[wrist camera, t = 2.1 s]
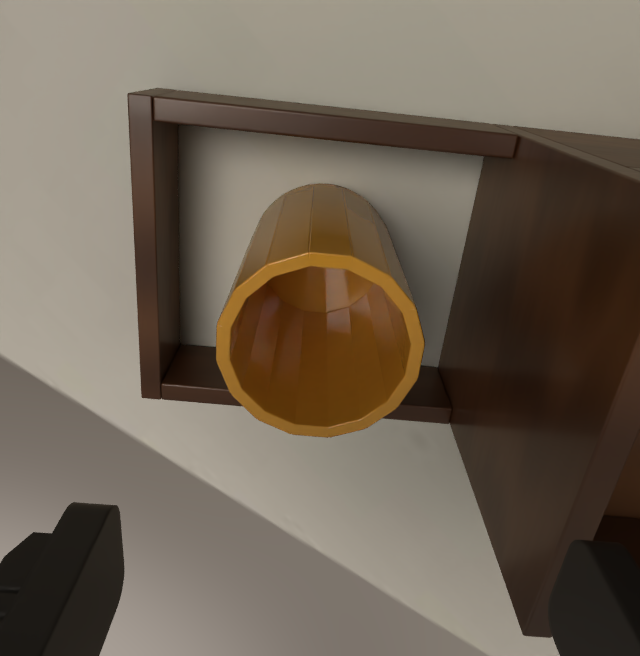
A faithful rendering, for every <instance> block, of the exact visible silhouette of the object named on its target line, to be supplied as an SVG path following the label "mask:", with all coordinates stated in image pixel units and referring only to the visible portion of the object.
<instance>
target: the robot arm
mask: <svg viewBox="0 0 640 656" xmlns="http://www.w3.org/2000/svg"><path fill="white" fill-rule="evenodd" d="M123 580H124V557H123V545H122V533H121V520H120V511H119V508H118V506H117V505H103V504H88V503H75V502H73V503H71V504H70V505H69V506H68V507H67V509H66V510H65V512H64V513H63V515H62V517H61V519H60V520H59V522H58V524H57V526H56V527H55V529H54V531H53V533H52V534H51V533H35V532H33V533H32V534H31V535H30V536H28V537H27V538H26V539H25V540H24V541H22V542H21V543H20V544H19V545H18V546H17V547H15V548H14V549H13V550H12V551H10V552H9V553H8V554H7V555H6V556H5V557H4V558H3V560H2V561H1V563H0V656H99V654H100V652H101V649H102V646H103V644H104V641H105V639H106V636H107V633H108V631H109V628H110V625H111V622H112V620H113V617H114V614H115V612H116V609H117V606H118V603H119V600H120V596H121V592H122V586H123ZM548 619H549V626H550V630H551V634H552V636H553V639H554V642H555V644H556V647H557V649H558V652H559V654H560V656H640V568H639V567H638V565H637V564H636V562H635V560H634V559H633V557H632V556H631V554H630V552H629V551H628V550H627V548H626V547H625V546H624V545H622V544H621V543H618V542H604V541H590V540H574V541H573V542H572V543H571V544H570V546H569V548H568V550H567V553H566V556H565V558H564V561H563V563H562V566H561V569H560V571H559V574H558V576H557V579H556V582H555V584H554V587H553V589H552V592H551V595H550V598H549V602H548Z"/></svg>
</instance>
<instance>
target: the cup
mask: <svg viewBox="0 0 640 656" xmlns="http://www.w3.org/2000/svg"><path fill="white" fill-rule="evenodd" d="M424 347H425V340H424V336H423V332H422V328H421V324H420V320H419V316H418V312H417V308H416V305H415V303H414V300H413V297H412V295H411V292H410V289H409V287H408V284H407V281H406V279H405V276H404V273H403V271H402V268H401V265H400V262H399V260H398V257H397V254H396V252H395V249H394V246H393V244H392V241H391V238H390V236H389V233H388V230H387V228H386V225H385V223H384V222H383V221H382V219H381V217H380V216H379V214H378V213H377V211H376V210H375V209H374V208H373V206H372V205H371V204H370V203H369V202H368V201H366V200H365V199H364V198H363V197H361V196H360V195H358V194H357V193H355V192H353V191H351V190H349V189H347V188H343V187H340V186H337V185H331V184H311V185H306V186H302V187H298V188H296V189H293V190H291V191H289V192H287V193H285V194H283V195H282V196H281V197H279V198H278V199H277V200H275V201H274V202H273V203H272V204H271V205H270V206H269V207H268V209H267V210H266V211H265V212H264V213H263V215H262V217H261V219H260V221H259V223H258V225H257V227H256V229H255V231H254V234H253V236H252V238H251V240H250V243H249V245H248V248H247V250H246V253H245V255H244V258H243V260H242V263H241V265H240V268H239V270H238V273H237V275H236V278H235V280H234V283H233V285H232V288H231V290H230V293H229V295H228V298H227V300H226V302H225V305H224V307H223V310H222V312H221V315H220V317H219V320H218V322H217V332H216V361H217V364H218V366H219V369H220V371H221V373H222V376H223V378H224V380H225V382H226V385H227V387H228V389H229V392H230V393H231V395H232V396H233V397H234V398H235V399H236V400H237V401H238V402H239V403H240V404H241V405H242V406H244V407H245V408H246V409H247V410H248V411H249V412H250V413H251V414H252V415H253V416H254V417H255V418H256V419H258V420H259V421H262V422H264V423H266V424H269V425H271V426H273V427H275V428H278V429H280V430H282V431H285V432H287V433H289V434H293V435H304V436H315V437H327V438H328V437H334V436H338V435H342V434H346V433H350V432H354V431H359V430H363V429H365V428H368V427H369V426H371V425H372V424H374V423H375V422H377V421H378V420H380V419H381V418H383V417H385V416H386V415H388V414H389V413H391V412H392V411H394V410H395V409H396V408H397V407H398V406H399V405H400V403H401V402H402V400H403V399H404V398H405V396H406V395H407V393H408V392H409V391H410V389H411V388H412V386H413V385H414V384H415V382H416V381H417V378H418V376H419V371H420V366H421V362H422V357H423V352H424Z"/></svg>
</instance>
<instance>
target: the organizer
mask: <svg viewBox="0 0 640 656" xmlns="http://www.w3.org/2000/svg"><path fill="white" fill-rule="evenodd" d="M128 116H129V138H130V159H131V180H132V202H133V223H134V244H135V266H136V287H137V308H138V330H139V351H140V372H141V394H142V398H149V399H161V398H162V399H164V400H176V401H188V402H199V403H211V404H222V405H234V406H242V405H241V404H240V403H239V402H238V401H237V400H236V399H235V398H234V397H233V396H232V395H231V393H230V392H229V389H228V387H227V385H226V382H225V380H224V378H223V376H222V373H221V371H220V369H219V366H218V364H217V361H216V348H214V347H203V346H192V345H180V288H179V197H178V124H181V125H190V126H200V127H209V128H219V129H228V130H238V131H247V132H257V133H267V134H276V135H286V136H295V137H305V138H314V139H324V140H333V141H343V142H353V143H362V144H372V145H381V146H391V147H400V148H410V149H419V150H429V151H439V152H448V153H458V154H467V155H477V156H484V161H483V165H482V170H481V175H480V179H479V184H478V188H477V193H476V197H475V202H474V206H473V211H472V216H471V220H470V225H469V229H468V234H467V238H466V243H465V247H464V252H463V256H462V261H461V266H460V270H459V275H458V279H457V284H456V288H455V293H454V297H453V302H452V307H451V311H450V316H449V320H448V325H447V329H446V334H445V338H444V343H443V347H442V352H441V357H440V361H439V366H438V368H436V367H426V366H420V371H419V376H418V378H417V381H416V382H415V384H414V385H413V386H412V388H411V389H410V391H409V392H408V393H407V395H406V396H405V398H404V399H403V400H402V402H401V403H400V405H399V406H398V407H397V408H396V409H395V410H394V411H392V412H391V413H389V414H388V415H386V416H385V417H383V418H385V419H397V420H408V421H420V422H432V423H443V424H449V423H450V425H451V428H452V431H453V434H454V437H455V440H456V443H457V446H458V449H459V451H460V454H461V457H462V460H463V463H464V466H465V469H466V472H467V475H468V477H469V480H470V483H471V486H472V489H473V492H474V495H475V498H476V501H477V503H478V506H479V509H480V512H481V515H482V518H483V521H484V524H485V526H486V529H487V532H488V535H489V538H490V541H491V544H492V547H493V550H494V552H495V555H496V558H497V561H498V564H499V567H500V570H501V573H502V576H503V578H504V581H505V584H506V587H507V590H508V593H509V596H510V599H511V602H512V604H513V607H514V610H515V613H516V616H517V619H518V622H519V625H520V628H521V630H522V633H523V635H524V636H534V637H548V638H550V637H552V634H551V630H550V626H549V619H548V602H549V598H550V595H551V592H552V589H553V587H554V584H555V582H556V579H557V576H558V574H559V571H560V569H561V566H562V563H563V561H564V558H565V556H566V553H567V550H568V548H569V546H570V544H571V543H572V542H573V541H574V540H590V541H604V542H618V543H621V544H622V545H624V546H625V547H626V548H627V550H628V551H629V552H630V554H631V556H632V557H633V559H634V560H635V562H636V564H637V565H638V567H639V568H640V140H639V139H629V138H620V137H611V136H601V135H592V134H583V133H573V132H564V131H555V130H545V129H536V128H527V127H517V126H508V125H498V124H489V123H479V122H470V121H461V120H451V119H442V118H432V117H423V116H414V115H404V114H395V113H386V112H376V111H367V110H358V109H348V108H339V107H330V106H320V105H311V104H302V103H292V102H283V101H274V100H264V99H255V98H245V97H236V96H227V95H217V94H208V93H199V92H189V91H180V90H179V91H177V90H171V89H162V88H155V89H149V90H143V91H138V92H132V93H128Z"/></svg>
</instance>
